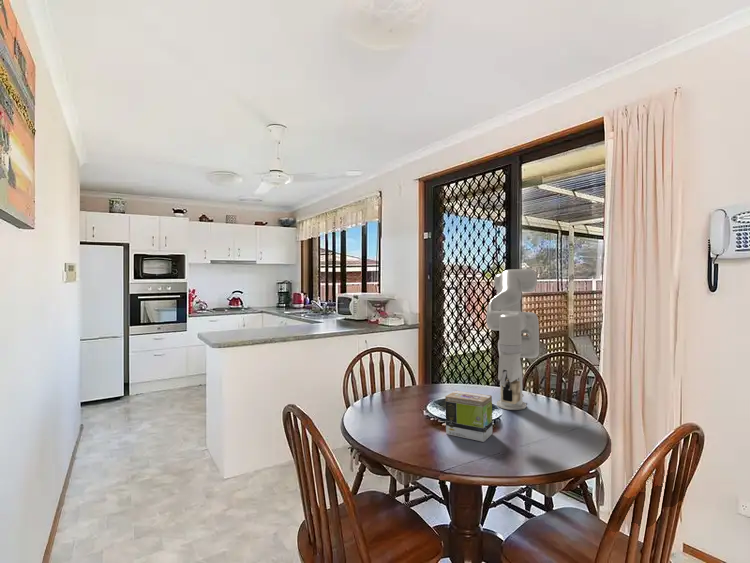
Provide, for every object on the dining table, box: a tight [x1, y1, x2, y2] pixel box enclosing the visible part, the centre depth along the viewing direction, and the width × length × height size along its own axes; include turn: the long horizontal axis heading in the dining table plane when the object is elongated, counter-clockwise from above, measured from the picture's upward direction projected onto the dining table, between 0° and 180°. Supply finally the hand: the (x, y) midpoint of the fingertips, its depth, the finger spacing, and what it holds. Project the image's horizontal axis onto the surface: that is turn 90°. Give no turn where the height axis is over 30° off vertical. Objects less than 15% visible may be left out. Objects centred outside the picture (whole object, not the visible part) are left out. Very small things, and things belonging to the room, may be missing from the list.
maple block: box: [501, 379, 520, 404], centre depth 152 cm, size 5×5×7 cm
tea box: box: [444, 390, 493, 443], centre depth 159 cm, size 15×10×15 cm, turn 56°
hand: (510, 397), depth 152 cm, fingers closed on maple block, 5 cm apart
